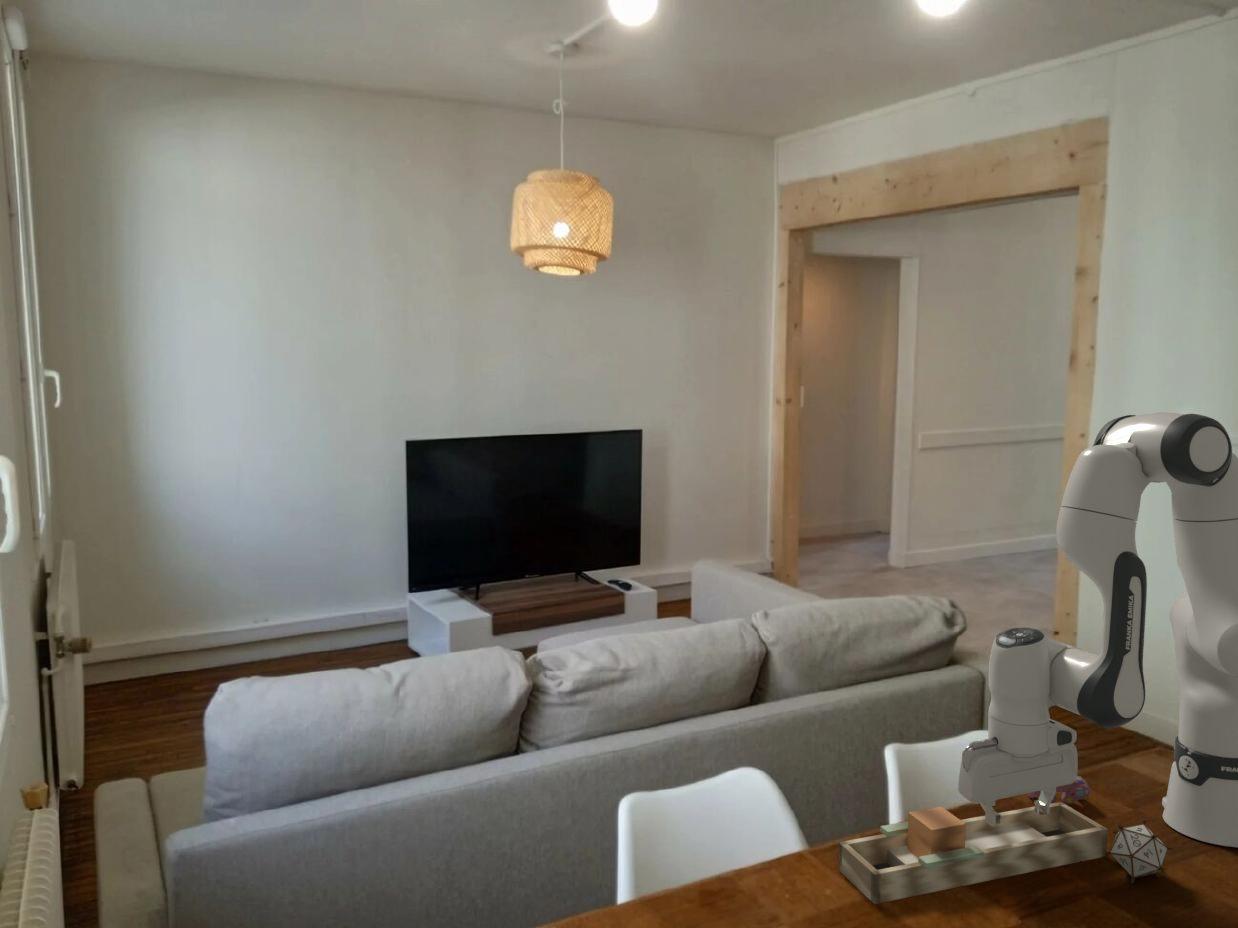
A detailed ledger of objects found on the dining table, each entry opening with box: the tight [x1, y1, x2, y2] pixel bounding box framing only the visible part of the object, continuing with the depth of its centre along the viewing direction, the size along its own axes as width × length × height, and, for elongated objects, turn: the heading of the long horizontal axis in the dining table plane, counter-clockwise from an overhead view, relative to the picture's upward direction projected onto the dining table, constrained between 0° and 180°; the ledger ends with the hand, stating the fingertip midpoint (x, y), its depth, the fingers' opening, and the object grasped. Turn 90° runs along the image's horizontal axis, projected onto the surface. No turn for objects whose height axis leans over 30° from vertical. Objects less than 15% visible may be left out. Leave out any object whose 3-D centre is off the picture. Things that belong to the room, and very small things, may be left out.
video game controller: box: [1026, 775, 1091, 805], centre depth 171 cm, size 10×5×7 cm, turn 83°
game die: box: [1103, 818, 1175, 884], centre depth 147 cm, size 9×8×10 cm
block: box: [907, 806, 966, 857], centre depth 148 cm, size 6×6×6 cm
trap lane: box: [837, 801, 1109, 905], centre depth 151 cm, size 42×12×5 cm, turn 108°
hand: (1017, 818), depth 152 cm, fingers open, 8 cm apart
